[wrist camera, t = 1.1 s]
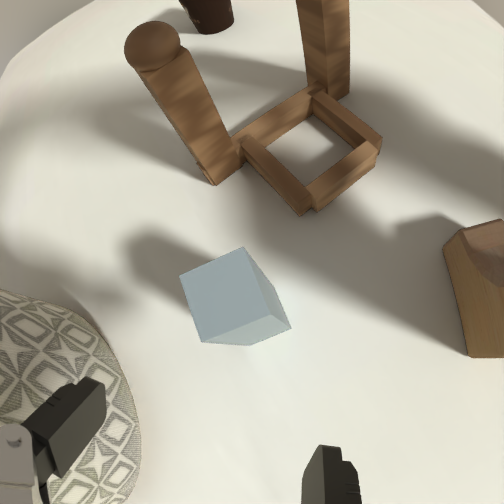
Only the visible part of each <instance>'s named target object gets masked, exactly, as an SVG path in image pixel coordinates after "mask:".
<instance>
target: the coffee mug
mask: <svg viewBox="0 0 504 504" xmlns="http://www.w3.org/2000/svg"><path fill="white" fill-rule="evenodd" d="M179 2H180V3H181V5H182V6H183V8H184V9H185V11H186V13H187V14H188V16H189V17H190V19H191V20H192V22H193V24H194V25H195V27H196V28H197V30H198V32H199V33H201V34H215V33H219V32H221V31H224V30H226V29H227V28H229V27H230V26H231V25H232V24H233V23H234V17H233V11H232V6H231V0H179Z"/></svg>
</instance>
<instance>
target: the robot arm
mask: <svg viewBox="0 0 504 504" xmlns="http://www.w3.org/2000/svg"><path fill="white" fill-rule="evenodd" d="M106 415H107V406H106V390H105V385H104V383H101V382H99V381H97V380H95V379H92V378H90V377H88V376H85V377H84V378H82V379H81V380H80V381H79V382H78V383H77V384H76V385H75V384H73V383H69V384H67V385H64V386H62V387H60V388H59V389H57V390H56V391H55V392H54V393H53V394H52V396H50V397H49V398H48V399H47V400H46V402H44V403H43V404H41V405H40V406H39V407H38V408H37V409H36V410H35V411H34V412H33V413H32V414H31V415H30V416H29V417H28V418H27V419H26V420H25V421H24V422H23V423H21V424H20V425H18V424H6V425H4V426H2V427H0V504H52V499H51V493H50V487H49V481H48V479H49V477H50V476H51V475H52V474H54V475H56V476H57V477H59V478H61V479H62V478H63V477H64V475H65V474H66V473H67V471H68V470H69V469H70V467H71V466H72V465H73V463H74V462H75V461H76V460H77V458H78V457H79V456H80V454H81V453H82V452H83V450H84V449H85V448H86V446H87V445H88V444H89V442H90V441H91V440H92V438H93V437H94V436H95V435H96V433H97V432H98V431H99V429H100V428H101V427H102V425H103V424H104V422H105V419H106ZM301 504H362V500H361V495H360V486H359V480H358V473H357V471H356V469H355V468H354V466H353V465H352V463H351V462H350V461H342V453H341V448H340V447H335V446H327V445H319V446H318V447H317V449H316V451H315V452H314V454H313V456H312V458H311V460H310V462H309V463H308V465H307V467H306V469H305V471H304V474H303V478H302V498H301Z"/></svg>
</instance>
